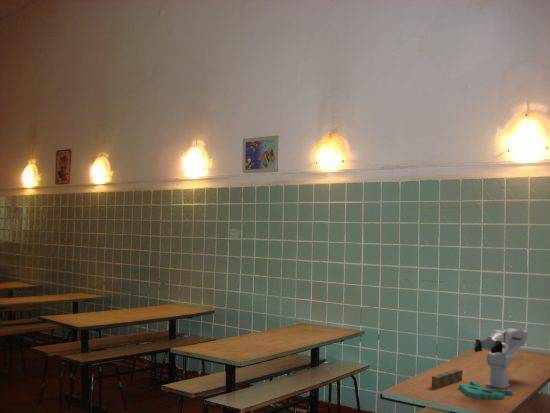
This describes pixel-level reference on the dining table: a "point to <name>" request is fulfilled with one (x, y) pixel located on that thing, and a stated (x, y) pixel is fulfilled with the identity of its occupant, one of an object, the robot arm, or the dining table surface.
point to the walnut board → (446, 378)
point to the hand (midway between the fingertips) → (483, 350)
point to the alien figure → (483, 391)
